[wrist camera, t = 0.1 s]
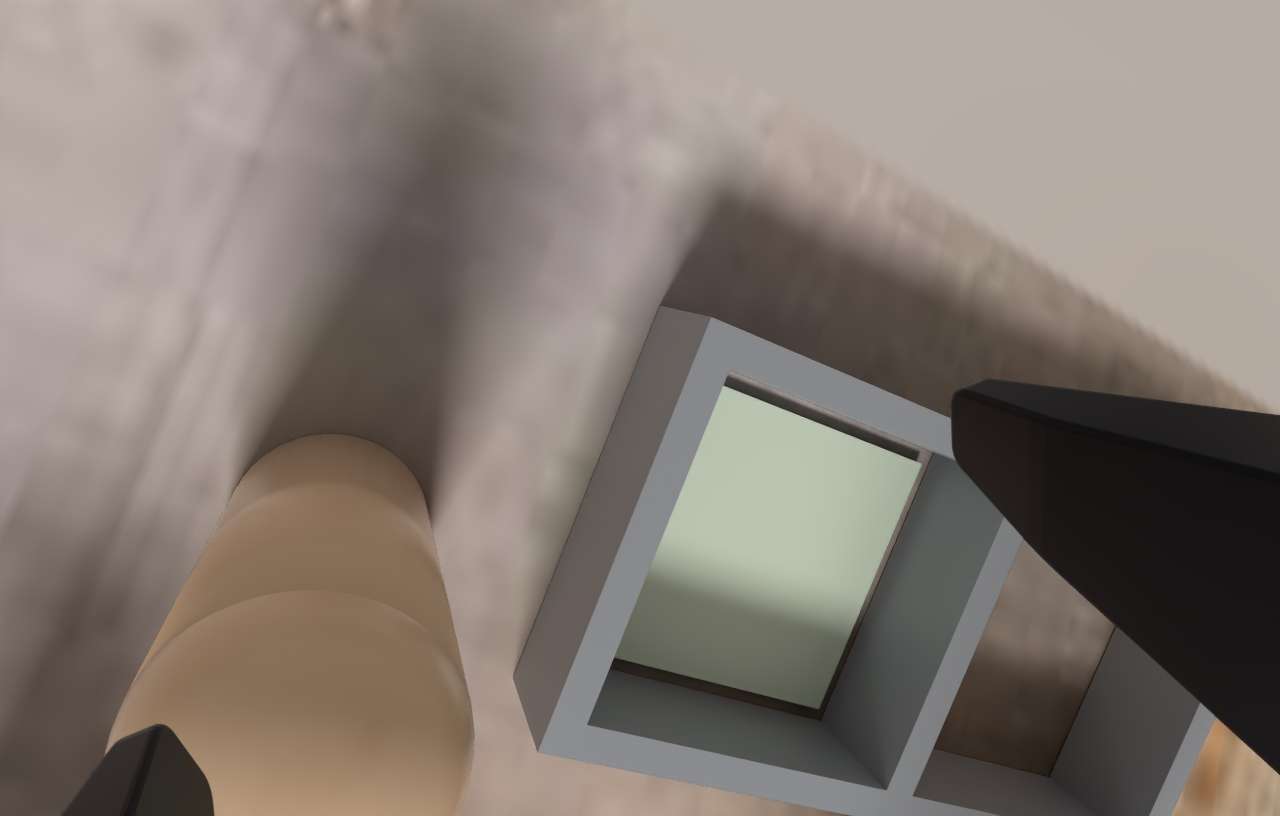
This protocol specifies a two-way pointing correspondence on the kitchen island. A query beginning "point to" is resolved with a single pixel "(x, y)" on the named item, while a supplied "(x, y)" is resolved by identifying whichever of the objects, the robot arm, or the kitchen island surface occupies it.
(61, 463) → the kitchen island surface
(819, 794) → the carton frame
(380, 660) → the beige rounded cylinder
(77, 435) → the kitchen island surface
